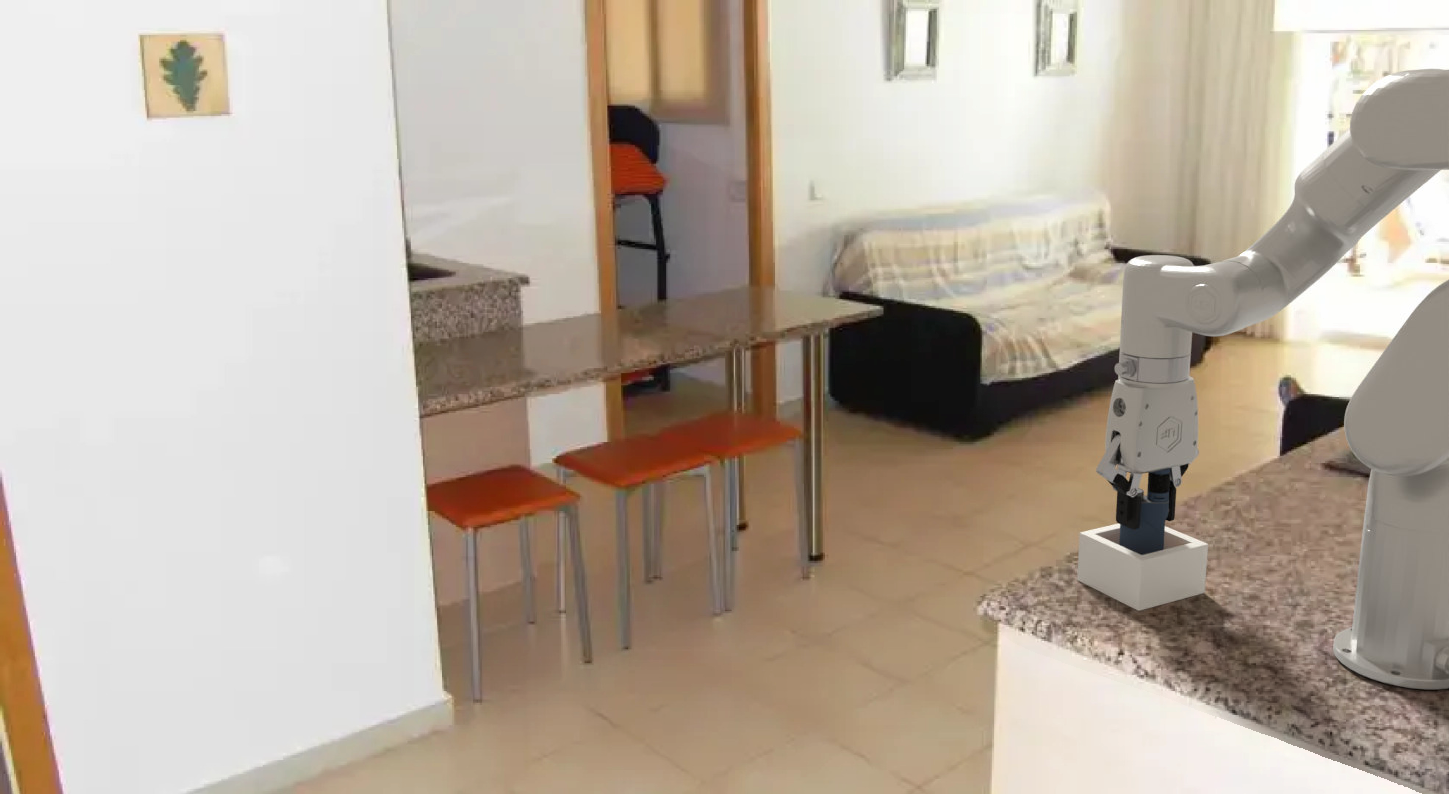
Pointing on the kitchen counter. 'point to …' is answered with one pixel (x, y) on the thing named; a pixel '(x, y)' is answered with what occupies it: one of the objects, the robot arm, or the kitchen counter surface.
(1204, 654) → the kitchen counter surface
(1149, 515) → the vaping device
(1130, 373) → the robot arm
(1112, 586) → the white hollow square box
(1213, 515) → the kitchen counter surface
